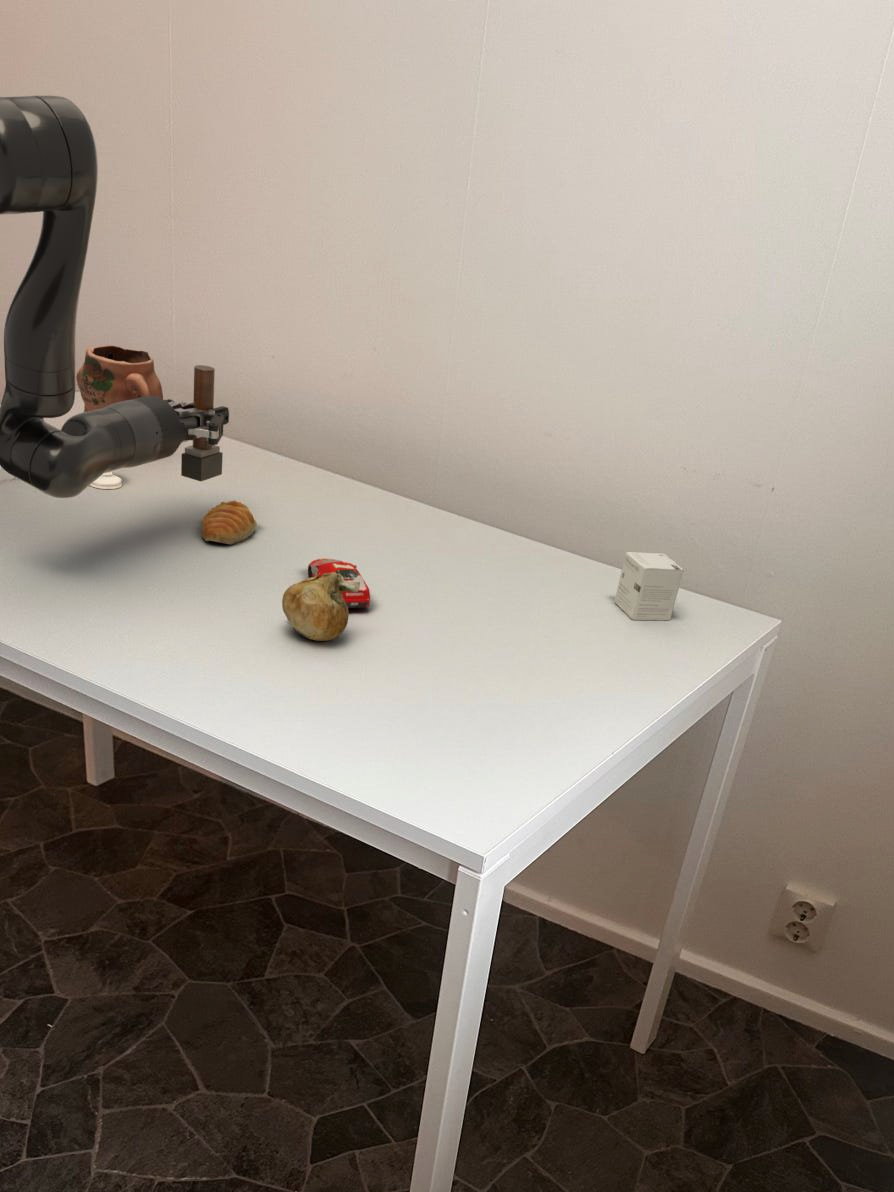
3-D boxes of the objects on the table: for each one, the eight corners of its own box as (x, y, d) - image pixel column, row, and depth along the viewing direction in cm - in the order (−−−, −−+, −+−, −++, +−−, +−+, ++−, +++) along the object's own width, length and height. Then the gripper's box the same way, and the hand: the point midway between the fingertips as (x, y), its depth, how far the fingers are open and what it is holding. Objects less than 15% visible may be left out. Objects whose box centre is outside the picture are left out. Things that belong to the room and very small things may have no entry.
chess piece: (104, 491, 169) (102, 419, 163) (79, 482, 170) (76, 410, 165) (129, 485, 172) (128, 415, 167) (104, 476, 174) (102, 406, 169)
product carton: (613, 602, 162) (624, 550, 158) (651, 603, 164) (664, 552, 160) (632, 620, 157) (644, 567, 153) (672, 621, 160) (685, 568, 156)
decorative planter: (189, 461, 186) (190, 369, 179) (117, 466, 179) (116, 370, 171) (126, 425, 198) (125, 337, 190) (56, 429, 190) (52, 337, 183)
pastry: (239, 551, 157) (240, 523, 155) (189, 542, 157) (190, 514, 155) (258, 530, 165) (259, 503, 163) (210, 522, 165) (211, 494, 163)
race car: (303, 574, 154) (305, 544, 151) (343, 574, 156) (345, 545, 153) (330, 614, 144) (333, 582, 141) (373, 614, 146) (376, 583, 144)
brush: (200, 481, 159) (203, 373, 151) (180, 475, 160) (182, 367, 152) (222, 474, 163) (225, 368, 155) (202, 468, 164) (205, 362, 156)
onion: (304, 616, 142) (309, 552, 137) (360, 637, 139) (367, 572, 135) (266, 634, 136) (270, 567, 132) (324, 656, 133) (330, 589, 129)
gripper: (183, 415, 142) (261, 395, 156) (88, 387, 145) (173, 370, 159) (182, 477, 146) (258, 452, 160) (89, 449, 149) (172, 427, 163)
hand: (215, 411), depth 159 cm, fingers closed on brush, 2 cm apart
